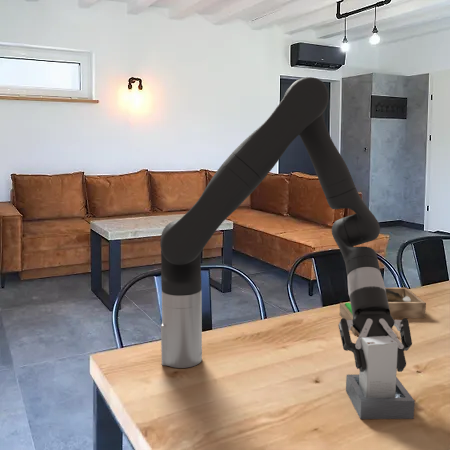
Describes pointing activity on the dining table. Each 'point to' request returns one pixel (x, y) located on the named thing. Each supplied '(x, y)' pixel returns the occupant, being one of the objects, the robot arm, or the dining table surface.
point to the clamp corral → (347, 316)
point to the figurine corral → (407, 305)
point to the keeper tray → (380, 402)
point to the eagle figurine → (396, 297)
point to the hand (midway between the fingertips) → (382, 370)
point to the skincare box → (379, 367)
